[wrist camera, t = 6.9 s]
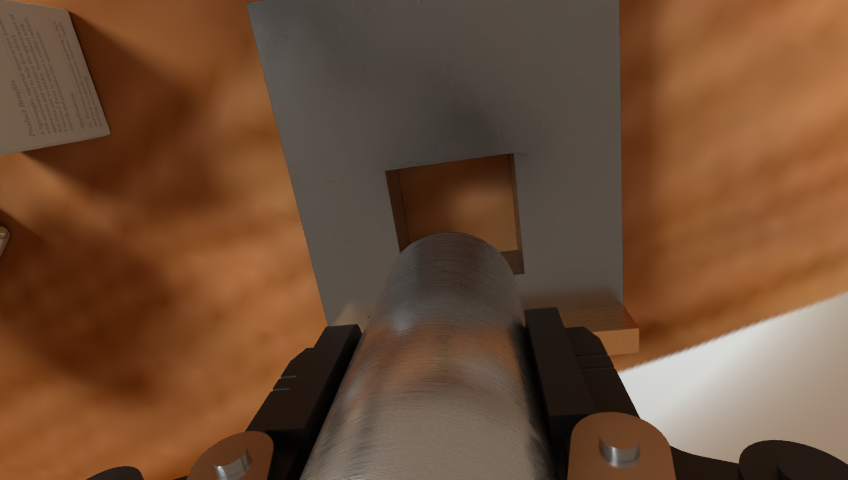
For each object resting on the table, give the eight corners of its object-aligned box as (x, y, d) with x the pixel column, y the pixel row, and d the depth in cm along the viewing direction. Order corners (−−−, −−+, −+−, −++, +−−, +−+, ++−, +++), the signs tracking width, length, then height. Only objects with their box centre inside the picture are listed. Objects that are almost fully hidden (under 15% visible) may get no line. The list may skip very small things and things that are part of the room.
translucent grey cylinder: (375, 240, 13) (152, 607, 4) (510, 224, 13) (618, 611, 3) (398, 354, 15) (267, 839, 5) (522, 345, 14) (623, 867, 5)
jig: (276, 14, 20) (219, -6, 16) (595, -49, 18) (638, -93, 14) (349, 322, 26) (322, 376, 21) (605, 298, 24) (638, 353, 19)
